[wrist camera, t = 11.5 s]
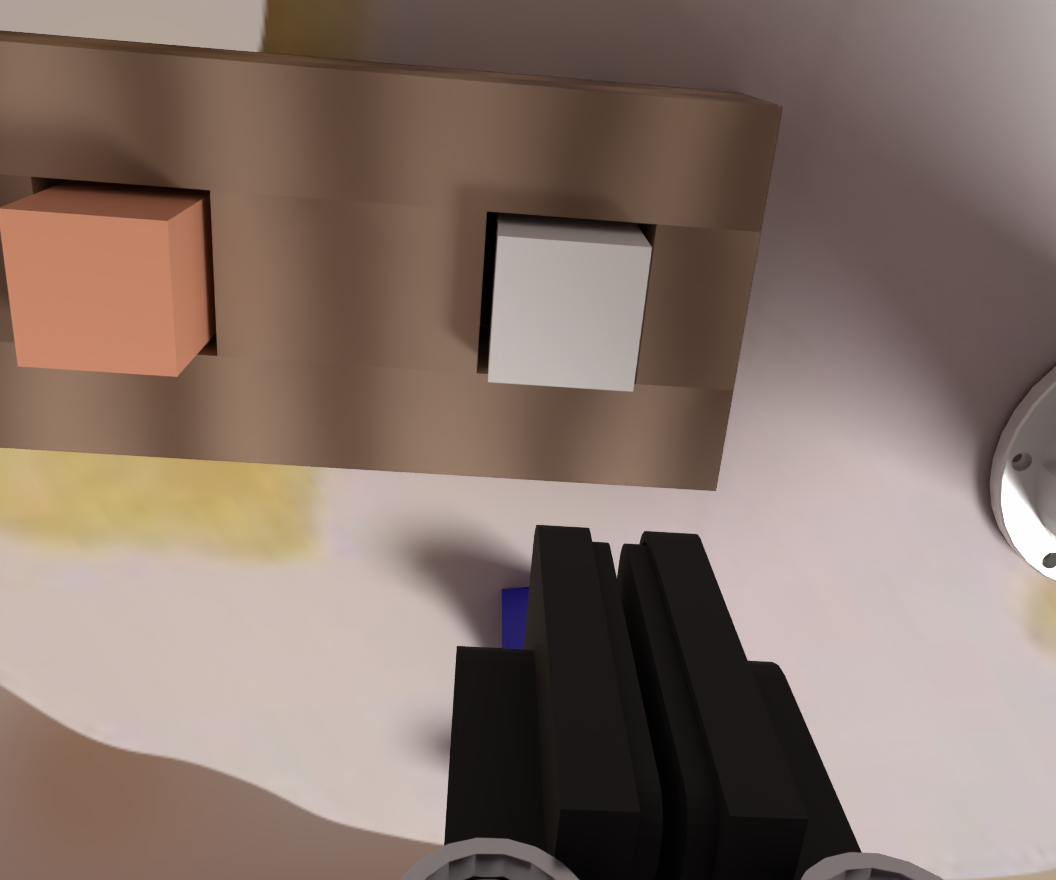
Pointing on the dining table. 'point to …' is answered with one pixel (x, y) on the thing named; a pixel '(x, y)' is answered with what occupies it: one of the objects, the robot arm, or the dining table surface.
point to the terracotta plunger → (110, 277)
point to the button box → (391, 256)
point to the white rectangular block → (567, 301)
